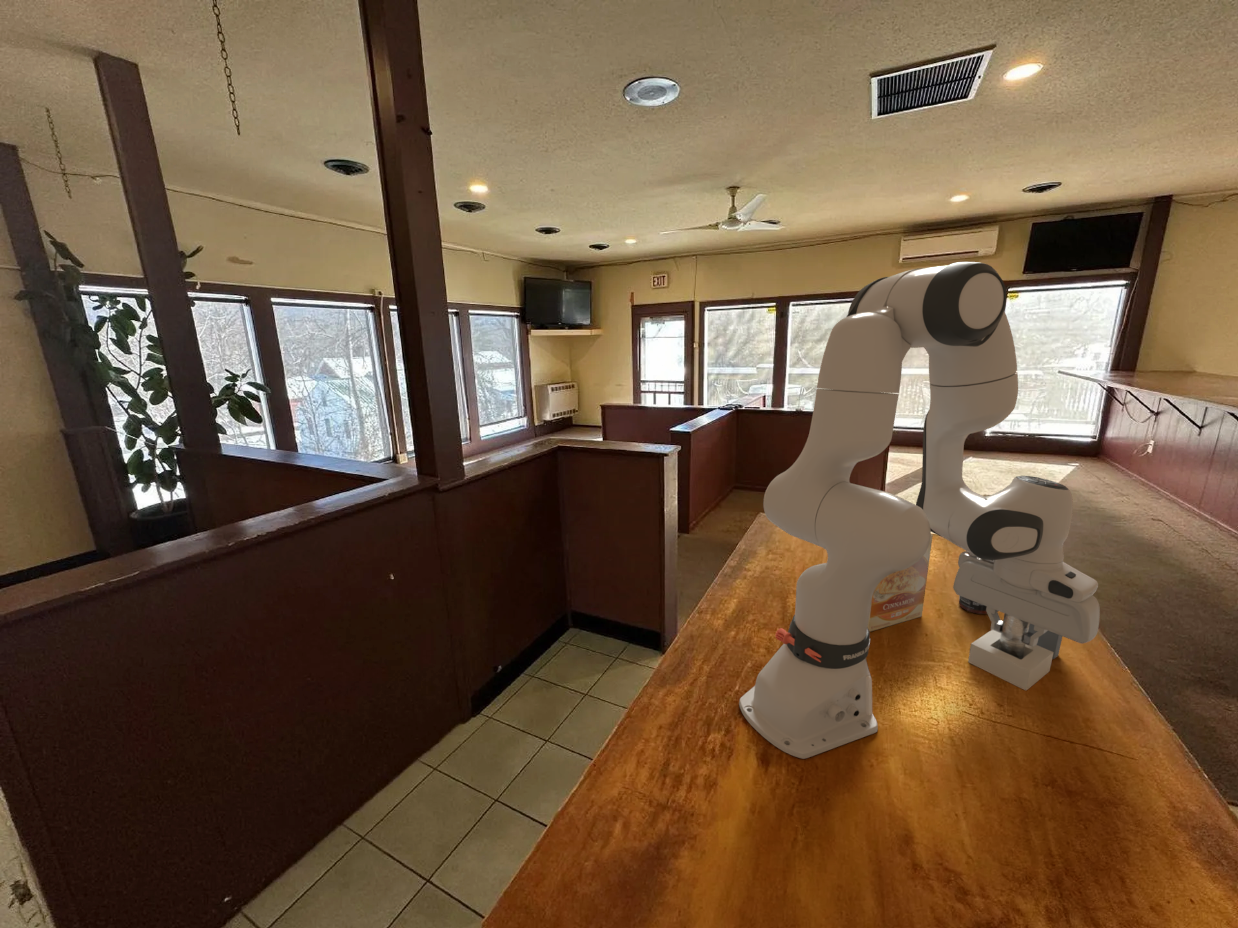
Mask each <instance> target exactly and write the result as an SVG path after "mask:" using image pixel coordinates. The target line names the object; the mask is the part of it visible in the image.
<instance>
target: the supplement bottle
mask: <svg viewBox="0 0 1238 928" xmlns="http://www.w3.org/2000/svg"><path fill="white" fill-rule="evenodd" d="M958 605H959V606H960V608H962V609H963V610H965V611H967V612H970V613H974V614H977V615H978V614H979V615H987V612H986V608H987V606H985V605H982V604H980V603H977V602H975V601H972V600H970V599H967V598H964V597H962V596H959V595H958Z"/></svg>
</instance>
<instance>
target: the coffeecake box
mask: <svg viewBox="0 0 1238 928" xmlns="http://www.w3.org/2000/svg"><path fill="white" fill-rule="evenodd" d="M933 536H934V535H933V534H932V533H931V537H930V543H929V546H928V548H927V550H926V552H925V554H924V555H923V556H922V558H921V559H920V560H919V561H918V562H916V563H915V564H914V565H912V566H910V567H909V568H906V569H904V570H901V571H897V572H894V573H892V574H890V575H888V576H886V577H885V578H884V579H883V580H881V581H880V583H879V584H878V585H877V587H876V588H875V591H874V593H873V596H872V600H871V605H870V612H869V619H868V626H867V627H868V629H869V633H870V632H873V631H877V630H880V629H883V628H887V627H891V626H893V625H894V626H895V625H897V624H901V623H903V622H904V623H905V622H907V621H910V620H914V619H917V618H921V617H923V611H924V602H925V601H924V600H925V594H926V587H927V580H928V573H929V564H930V558H931V549H932V542H933Z"/></svg>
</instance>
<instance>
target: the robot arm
mask: <svg viewBox="0 0 1238 928" xmlns="http://www.w3.org/2000/svg"><path fill="white" fill-rule="evenodd" d="M1006 304H1007V289H1006V285H1005V282H1004V281H1003V279H1002V277H1001V276H1000V275H999V273H998V271H997V270H996V269H995V268H994V267H992V266H991V265H990V264H987V263H984V262H980V261H979V262H975V261H958V262H953V263H950V264H948V265H941V266H940V265H939V266H932V267H931V266H930V267H919V268H914V269H909V270H905V271H902V272H899V273H897V274H893V275H890V276H885V277H881V278H878V279H875V280H873V281H872V282H869V283H867V285H864V287H862V288H861V289H860V290H859V291H858V292H857V293H856V295H855V296H854V298H853V299H852V301H851V303H850V306H849V308H848V312H847V314H846V317H843V318H842V319H840V320H839V321H837V322H836V324H834V326H833V327H832V329H831V331H830V334H829V337H828V340H827V343H826V345H825V348H824V352H823V356H822V360H821V363H820V368H819V372H818V377H817V385H816V388H817V389H815V390H816V392H815V399H814V403H813V404H814V406H813V410H812V411H813V412H812V416H811V422H810V428H809V434H808V435H807V436H808V437H807V439H806V442H805V444H804V446H803V449H802V451H801V453H800V454H799V456H798V457H797V458H796V460H795V462H793V464H792V465H791V466H790V467H789V468H788V469H786V470H785V471H783V472H781V473H780V474H777V475H776V476H775V477H774V478H773V479H772V480H771V481H770V482H769V484H768V486H767V488H766V490H765V492H764V496H763V510H764V511H763V512H764V514H765V517H766V518H767V520H768V521H769V522H771V523H772V524H773V525H775V527H778V528H779V529H781V531H783V532H785V533H787V534H788V535H789V536H792V537H795V538H797V539H799V540H802V541H805V542H808V543H810V544H812V545H815V546H818V547H821V548H823V550H825V551H826V553H827V560H826V562H823V563H818V564H815V565H812V566H809V567H808V568H806V569H805V570H804V571H803V572H802V573H801V575H800V576H799V577H798V579H797V580H796V589H795V590H796V591H795V607H794V608H795V609H794V610H795V611H794V615H793V617H792V619H791V621H790V624H789V628H788V631H787V630H786V629H784V628H782V627H779V628H778V629H777V630H776V632H775V639H776V640H778V641H779V642H782V643H783V644H782V645H781V646H780V648H778V650H777V651H776V652H775V653H774V655H772V657H771V658H770V659H769V661H768V662H767V663H766V664H765V666H764V667H762V669H761V670H760V671H759V673H758V674H757V677H756V680H755V684H754V686H752V687H751V688H750V689H749V690H748V691H747V692H745V693H744V694H743V695H742V696H741V697H740V698H739V702H738V705H739V709H740V711H741V713H742V715H743V716H744V718H745V719H746V721H747V722H748V723H749V724H750V725H751V727H752V728H753V729H754V730H756V732H757V733H758V734H760V735H761V736H762V737H763V738H764V739H765V740H766V741H768V742H769V743H770V744H772V745H773V746H774V747H776V748H778V749H779V750H780V751H782V752H784V753H786V754H788V755H791V756H793V757H796V758H799V759H803V760H804V759H808V758H810V757H811V758H812V757H814V756H816V755H819V754H823V753H824V752H827V751H830V750H832V749H835V748H837V747H840V746H844V745H846V744H849V743H851V742H855V741H856V740H859V739H862V738H864V737H867V736H870V735H873V734H875V733H877V732H878V730H879V729H878V728H879V726H878V721H877V719H876V717H875V716H874V714H873V680H872V679H873V678H872V676H871V673H870V669H869V666H868V662H867V657H868V656H869V648H870V646H871V644H870V643H871V638H870V636H871V634H870V632H869V629H868V627H867V626H868V619H869V612H870V605H871V600H872V596H873V593H874V591H875V588H876V587H877V585H878V584H879V583H880V581H881V580H883V579H884V578H885V577H886V576H888V575H890V574H892V573H894V572H897V571H901V570H904V569H906V568H909V567H910V566H912V565H914V564H915V563H916V562H918V561H919V560H920V559H921V558H922V556H923V555H924V554H925V552H926V550H927V548H928V546H929V543H930V537H931V534H932V533H933V534H935V535H937V536H940V537H941V538H944V540H945V539H946V540H947V541H948V542H950V543H952V544H954V545H955V546H957V547H959V548H960V549H962V550H964V551H962V552H961V553H960V554H959V556H958V562H957V565H958V567H959V568H958V570H957V572H956V575H955V577H954V581H953V586H952V589H953V591H954V592H955V594H956V595H957V596H958V597H959V596H962V597H964V598H967V599H970V600H972V601H975V602H977V603H980V604H982V605H985V606H987V608H986V612H987V613H986V615H987V616H988V617H989V620H990V622H991V623H990V624H991V625H990V630H994V631H997V632H999V633H1001V630H1002V625H1003V620H1002V619H1001V618H1000V615H999V612H1000V613H1003V614H1007V615H1010V616H1013V617H1015V618H1018V619H1020V620H1023V621H1025V622H1028V623H1030V624H1033V625H1034V630H1035V631H1038V632H1036V633H1035V634H1034V633H1031V632H1028V633H1027V634H1025V635H1024V640H1023V643H1025V644H1027V645H1029V646H1032V647H1034V646H1036V645H1037V642H1038V638H1039V637H1040V636H1041V635H1043V634H1044V633H1045V632H1047V631H1050V632H1053V633H1055V634H1058V635H1061V636H1062V638H1067V639H1069V640H1071V641H1074V642H1076V643H1079V644H1086V643H1089V642H1091V641H1092V640H1094V639H1095V637H1096V636H1097V634H1098V631H1099V626H1100V616H1101V615H1100V612H1101V611H1100V603H1099V601H1098V599H1097V598H1096V597H1095V596H1094V594H1095V593H1096V591H1097V590H1098V588H1099V583H1098V581H1097V580H1096V579H1094V578H1093V577H1091V576H1089V575H1087V574H1085V573H1083V572H1082V571H1080V570H1079V569H1077V568H1075V567H1073V566H1071V565H1069V564H1068V563H1066V562H1064V558H1065V556H1064V554H1065V553H1064V548H1063V547H1064V543H1065V542H1066V540H1067V538H1068V537H1069V534H1070V529H1071V524H1072V520H1073V510H1074V504H1073V503H1074V502H1073V495H1072V492H1071V490H1070V489H1069V488H1068V487H1067V486H1066V485H1064V484H1062V483H1059V482H1056V481H1053V480H1050V479H1045V478H1042V477H1040V476H1039V477H1037V476H1032V475H1017V476H1015V477H1013V479H1012V480H1011V482H1010V483H1009V484H1008V485H1007V486H1005V487H1004V488H1003V489H1001V490H999V491H998V492H997V491H996V493H993V494H990V495H985V496H984V495H982V494H979V493H977V492H975V491H973V490H972V489H971V488H970V487H969V486H968V485H967V484H966V483H965V480H964V478H963V469H964V468H963V467H964V466H963V464H964V445H965V442H966V439H967V438H968V436H969V435H970V434H975V433H979V432H984V431H986V430H989V429H991V428H994V427H995V426H997V425H999V424H1001V423H1002V422H1003V421H1004V420H1006V419H1007V418H1008V417H1009V416H1010V415H1011V414H1012V413H1013V411H1014V410H1015V408H1016V404H1017V400H1018V396H1019V379H1018V374H1019V373H1018V363H1017V360H1018V359H1017V356H1016V355H1017V354H1016V347H1015V343H1014V342H1015V341H1014V337H1013V334H1012V333H1013V332H1012V329H1011V325H1010V322H1009V320H1008V317H1007V314H1006V312H1005V310H1006V306H1007V305H1006ZM913 348H914V349H918V348H919V349H921V348H924V350H925V351H926V353H927V354H928V378H929V379H928V380H929V389H930V390H929V391H930V392H929V393H930V395H929V397H930V399H929V401H930V403H929V409H928V411H927V412H926V415H925V418H924V423H923V431H922V432H923V433H922V435H923V436H922V462H921V463H922V466H921V467H922V469H921V472H922V474H921V485H920V489H919V492H918V495H917V498H916V502H915V504H914V503H913V502H910V501H908V500H906V499H904V498H902V497H900V496H898V495H895V494H893V493H891V492H889V491H888V492H887V491H883V490H881V489H876V488H872V487H867V486H863V485H859V484H855V483H851V482H850V479H851V478H850V477H851V474H852V472H853V469H854V467H855V466H856V465H857V463H859V462H862V461H865V460H869V459H871V458H873V457H876V456H878V455H880V454H881V453H882V452H884V451H885V450H886V448H888V446H889V445H890V443H891V441H892V437H893V431H894V427H895V426H894V425H895V419H896V413H897V406H898V402H899V401H898V400H899V393H900V387H901V383H902V381H901V380H902V371H903V369H902V368H903V361H904V359H905V356H906V355H907V353H908V352H909V351H910V349H913Z"/></svg>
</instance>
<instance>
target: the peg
mask: <svg viewBox="0 0 1238 928" xmlns="http://www.w3.org/2000/svg"><path fill="white" fill-rule="evenodd" d="M1002 621H1003V625H1002V630H1001V636H1000V642H999V647H998V649H999V650H1001V651H1003V652H1005V653H1007V654H1010V655H1012V656H1014V657H1016V658H1018V659H1023V655H1024V650H1025V645H1026V644H1025V643H1023V640H1024V635H1025V634H1027V633H1028V630H1029V625H1030V623H1028V622H1025V621H1023V620H1020V619H1018V618H1015V617H1013V616H1010V615H1007V614H1005V613H1003V620H1002Z"/></svg>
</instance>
